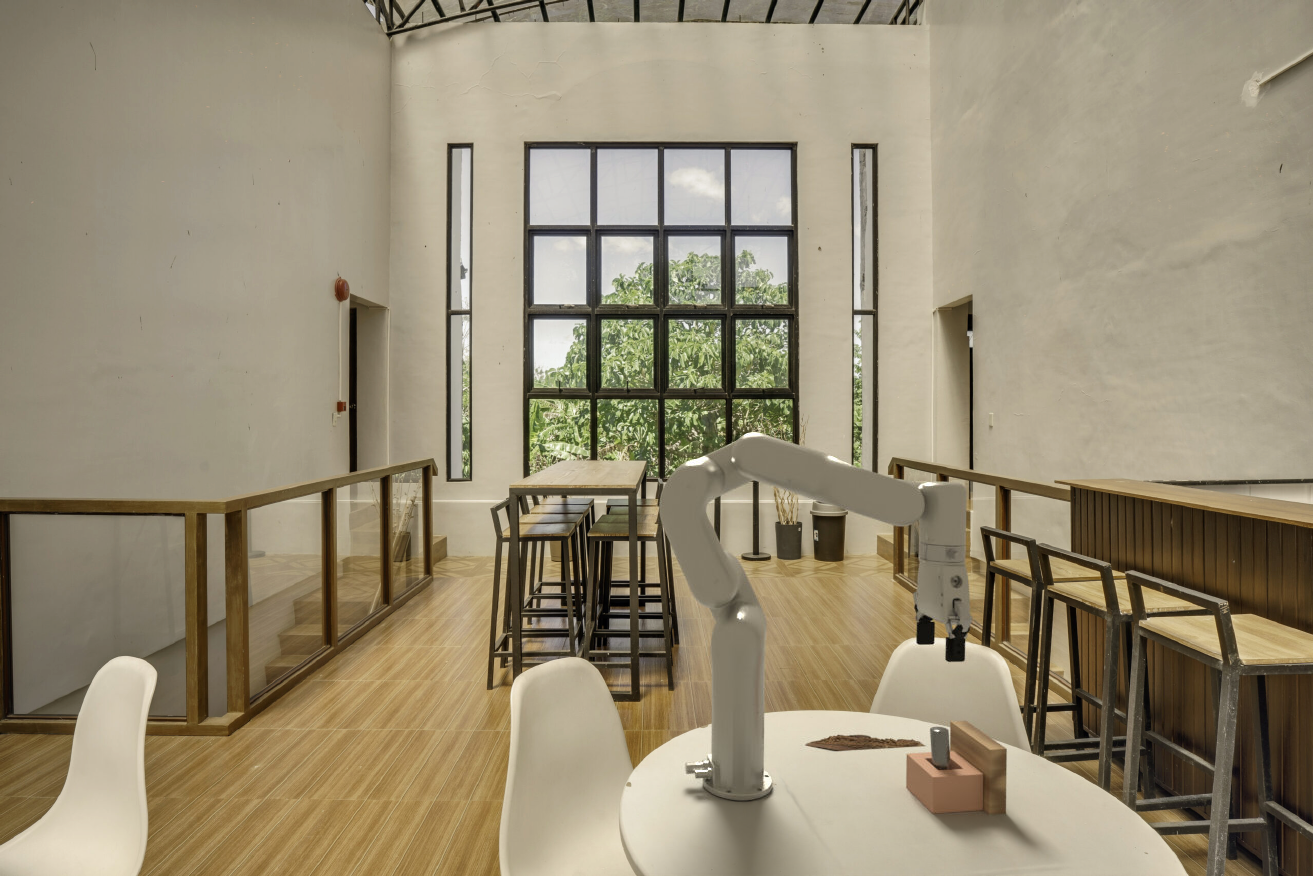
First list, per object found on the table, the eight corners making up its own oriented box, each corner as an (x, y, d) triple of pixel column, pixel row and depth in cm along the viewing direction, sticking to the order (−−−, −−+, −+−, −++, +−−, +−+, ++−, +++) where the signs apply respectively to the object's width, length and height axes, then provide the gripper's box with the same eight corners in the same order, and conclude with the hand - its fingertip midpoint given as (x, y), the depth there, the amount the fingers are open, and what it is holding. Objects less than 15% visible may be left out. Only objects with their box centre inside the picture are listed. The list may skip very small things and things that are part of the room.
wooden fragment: (931, 743, 152) (931, 738, 152) (942, 767, 141) (942, 762, 141) (805, 733, 157) (805, 728, 157) (806, 755, 146) (806, 750, 146)
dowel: (940, 805, 124) (936, 734, 124) (930, 797, 127) (926, 728, 127) (956, 802, 124) (952, 732, 125) (945, 795, 127) (941, 725, 127)
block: (932, 813, 120) (933, 777, 120) (906, 787, 129) (906, 753, 129) (982, 810, 122) (983, 774, 122) (953, 784, 131) (953, 751, 131)
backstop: (989, 816, 120) (990, 749, 120) (949, 782, 132) (950, 721, 132) (1005, 815, 121) (1006, 748, 121) (965, 781, 133) (965, 720, 133)
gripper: (991, 562, 118) (989, 668, 118) (936, 545, 135) (934, 638, 135) (948, 562, 117) (945, 669, 117) (897, 545, 134) (895, 638, 134)
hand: (939, 652), depth 126 cm, fingers open, 9 cm apart
